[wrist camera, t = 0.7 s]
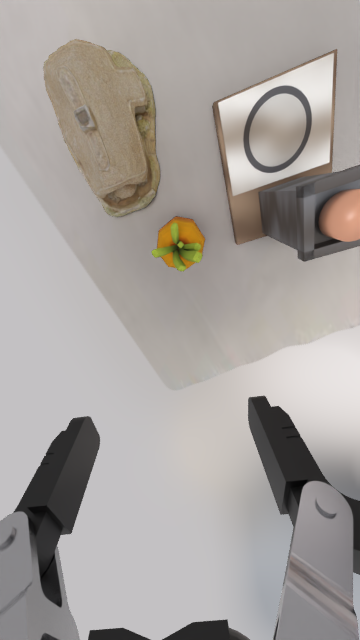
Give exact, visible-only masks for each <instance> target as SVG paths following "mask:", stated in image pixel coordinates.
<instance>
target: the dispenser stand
mask: <svg viewBox="0 0 360 640" xmlns="http://www.w3.org/2000/svg"><path fill="white" fill-rule="evenodd" d="M336 66H337V49H336V50H333V51H331V52H329V53H327V54H324V55H322V56H320V57H317V58H315V59H313V60H310V61H308V62H306V63H303V64H301V65H299V66H297V67H294V68H292V69H290V70H287V71H285V72H283V73H280V74H278V75H276V76H273V77H271V78H269V79H267V80H264V81H262V82H260V83H257V84H255V85H253V86H250V87H248V88H246V89H243V90H241V91H239V92H237V93H234V94H232V95H230V96H227V97H225V98H223V99H220V100H218V101H216V102H214V103H213V106H212V107H213V113H214V119H215V125H216V131H217V137H218V143H219V148H220V154H221V160H222V166H223V172H224V178H225V183H226V189H227V195H228V201H229V207H230V213H231V219H232V224H233V230H234V236H235V242H236V244H237V245H239V244H242V243H245V242H248V241H252V240H255V239H258V238H261V237H264V236H270V237H272V238H274V239H276V240H278V241H280V242H282V243H284V244H286V245H288V246H290V247H292V248H294V249H296V250H298V258H299V259H301V260H302V261H304V262H305V261H308V260H312V259H315V258H319V257H322V256H326V255H329V254H333V253H336V252H340V251H343V250H347V249H350V248H354V247H357V246H360V239H359V240H356V241H351V242H345V241H341V240H337V239H334V238H331V237H327V236H325V235H324V234H323V233H322V232H321V231H320V228H319V223H318V221H319V215H320V212H321V210H322V208H323V206H324V205H325V204H326V202H327V201H328V200H329V199H330V198H331V197H332V196H334V195H335V194H337V193H338V192H340V191H343V190H347V189H360V165H357V166H355V167H352V168H349V169H346V170H343V171H340V172H333V173H332V153H333V131H334V110H335V88H336Z"/></svg>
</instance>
